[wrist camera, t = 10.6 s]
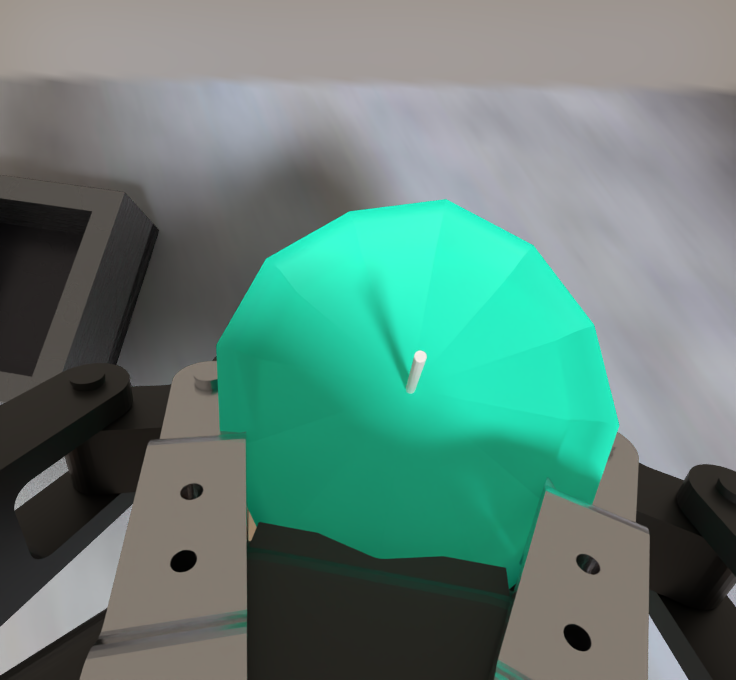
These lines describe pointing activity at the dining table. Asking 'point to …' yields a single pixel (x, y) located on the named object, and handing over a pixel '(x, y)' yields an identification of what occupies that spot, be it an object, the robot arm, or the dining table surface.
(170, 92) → the dining table surface
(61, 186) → the box
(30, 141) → the dining table surface
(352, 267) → the candle
